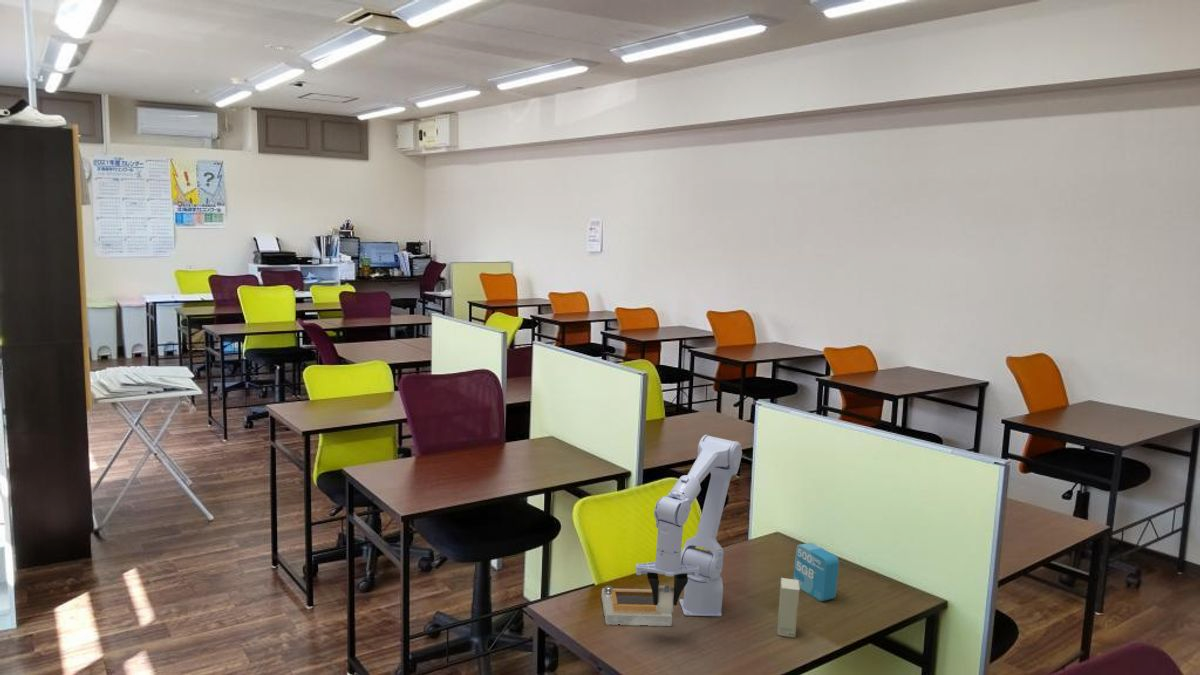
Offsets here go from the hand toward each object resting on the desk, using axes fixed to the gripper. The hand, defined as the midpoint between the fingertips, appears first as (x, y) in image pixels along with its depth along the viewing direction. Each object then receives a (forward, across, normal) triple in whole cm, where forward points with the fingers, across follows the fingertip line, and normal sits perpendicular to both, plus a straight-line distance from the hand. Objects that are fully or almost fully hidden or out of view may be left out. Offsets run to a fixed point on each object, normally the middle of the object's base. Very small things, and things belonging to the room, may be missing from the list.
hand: (664, 603), depth 189 cm
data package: (+9, +45, +25) cm, 52 cm away
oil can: (+2, 0, 0) cm, 2 cm away
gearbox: (+8, -5, +12) cm, 15 cm away
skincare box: (+9, +31, +4) cm, 32 cm away
